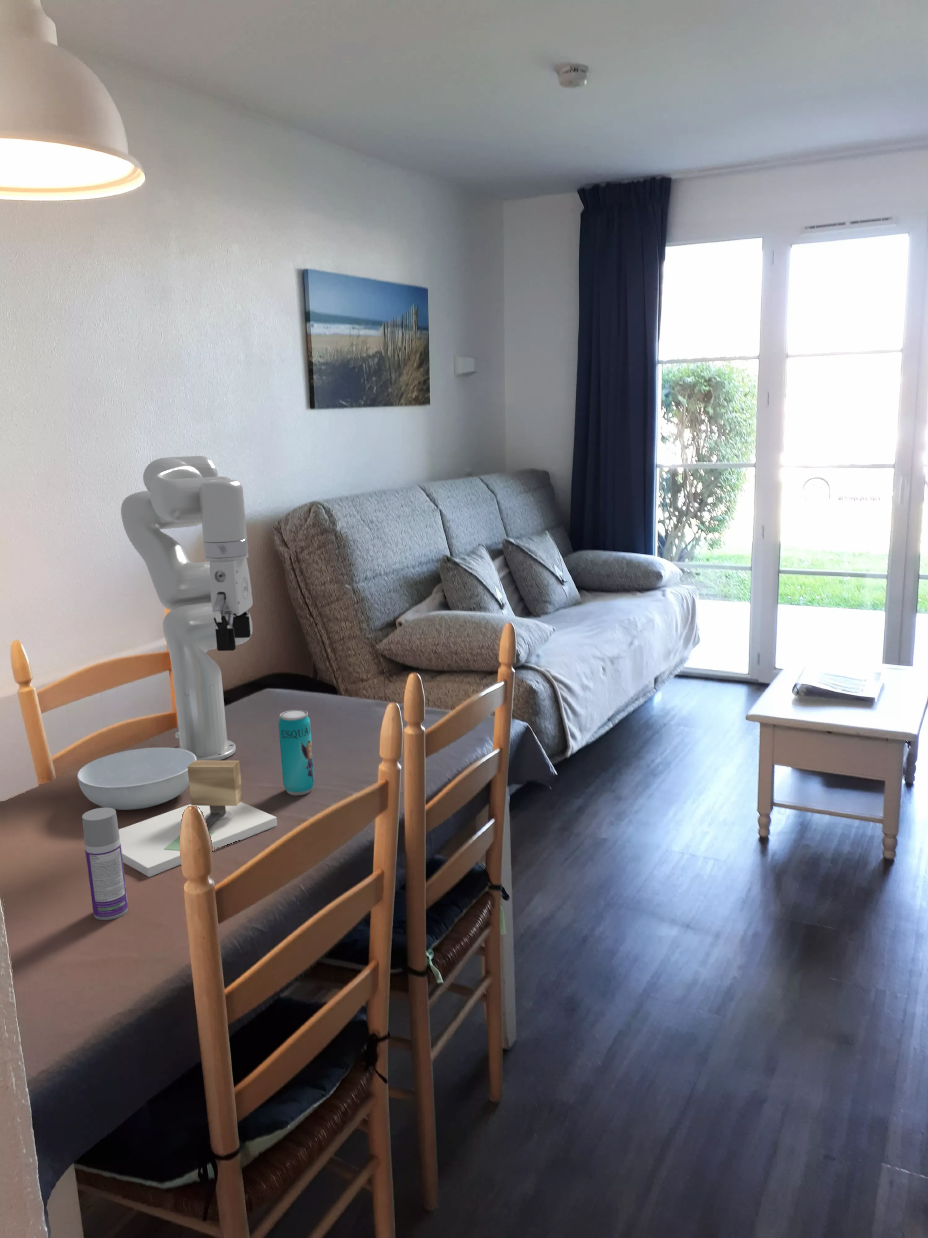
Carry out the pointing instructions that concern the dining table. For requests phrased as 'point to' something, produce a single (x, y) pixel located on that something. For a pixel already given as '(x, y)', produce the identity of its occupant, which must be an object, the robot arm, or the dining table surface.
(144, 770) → the serving bowl
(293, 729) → the beverage can
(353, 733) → the dining table surface
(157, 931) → the dining table surface
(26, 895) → the dining table surface
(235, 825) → the dial board
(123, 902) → the container
